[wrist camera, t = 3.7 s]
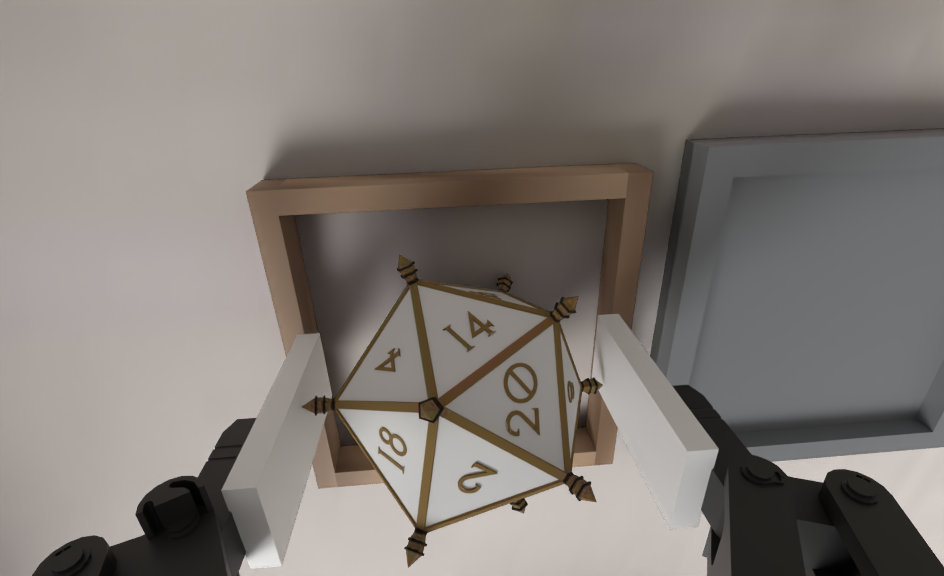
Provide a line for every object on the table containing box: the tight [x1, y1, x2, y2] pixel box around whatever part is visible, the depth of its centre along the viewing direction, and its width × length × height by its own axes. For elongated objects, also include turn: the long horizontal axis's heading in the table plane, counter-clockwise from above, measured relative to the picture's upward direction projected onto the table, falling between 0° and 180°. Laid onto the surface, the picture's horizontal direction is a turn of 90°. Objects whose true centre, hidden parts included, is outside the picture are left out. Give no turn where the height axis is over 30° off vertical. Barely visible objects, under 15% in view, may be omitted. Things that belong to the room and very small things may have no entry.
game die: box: [302, 254, 603, 567], centre depth 15 cm, size 9×8×10 cm
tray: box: [650, 128, 944, 462], centre depth 19 cm, size 14×14×2 cm
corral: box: [246, 163, 653, 489], centre depth 18 cm, size 13×13×2 cm
